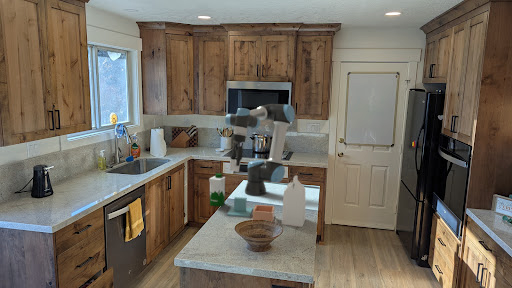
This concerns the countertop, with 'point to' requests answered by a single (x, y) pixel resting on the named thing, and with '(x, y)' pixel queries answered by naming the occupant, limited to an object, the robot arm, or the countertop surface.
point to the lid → (240, 208)
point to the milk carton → (217, 190)
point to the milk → (294, 204)
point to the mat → (239, 216)
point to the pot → (263, 212)
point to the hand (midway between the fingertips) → (233, 170)
